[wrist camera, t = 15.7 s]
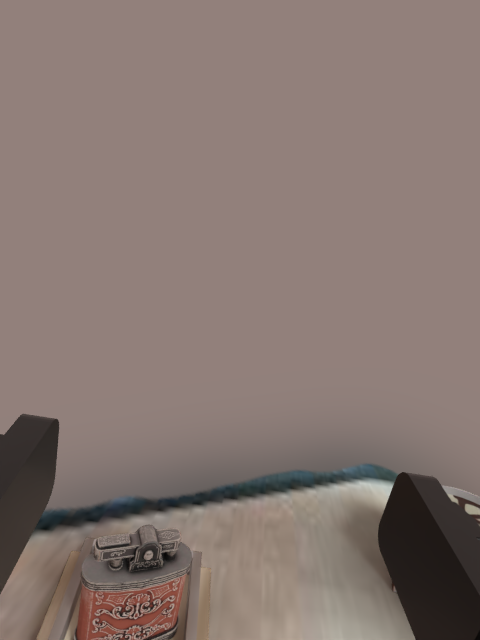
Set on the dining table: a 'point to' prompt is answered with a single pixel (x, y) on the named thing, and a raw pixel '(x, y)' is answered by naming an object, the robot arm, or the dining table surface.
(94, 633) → the lighter
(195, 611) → the tray
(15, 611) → the dining table surface
